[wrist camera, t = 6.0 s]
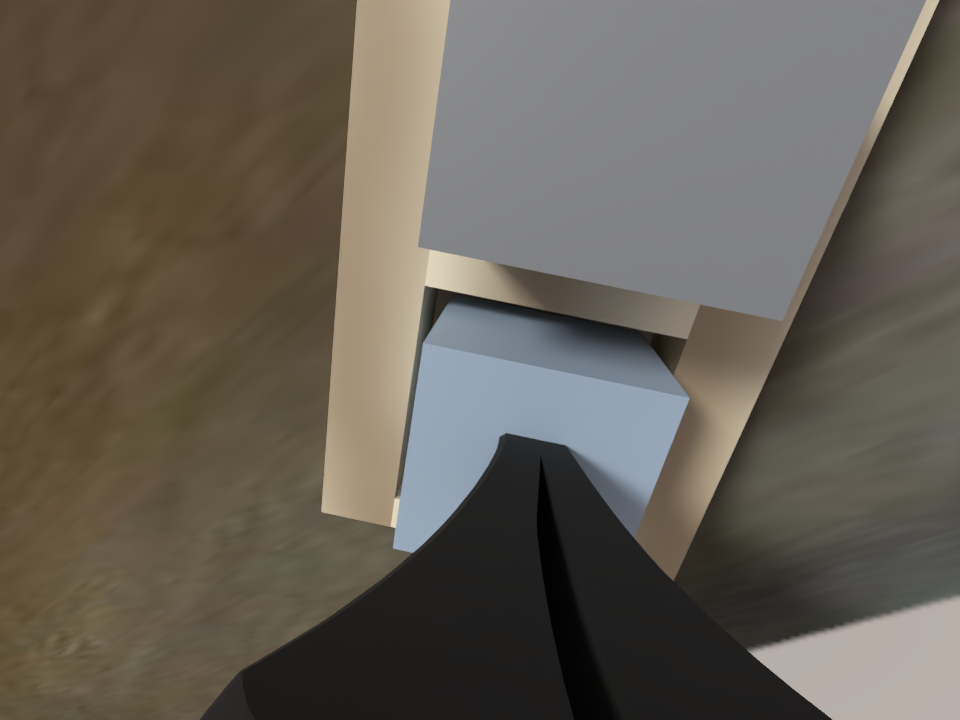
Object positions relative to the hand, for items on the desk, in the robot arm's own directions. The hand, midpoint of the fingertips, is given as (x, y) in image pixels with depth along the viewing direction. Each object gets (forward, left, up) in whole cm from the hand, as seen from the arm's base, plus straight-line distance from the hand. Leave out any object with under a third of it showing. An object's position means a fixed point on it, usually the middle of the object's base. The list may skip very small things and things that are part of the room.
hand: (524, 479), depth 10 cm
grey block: (0, -7, -2) cm, 7 cm away
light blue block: (0, 0, -4) cm, 4 cm away
